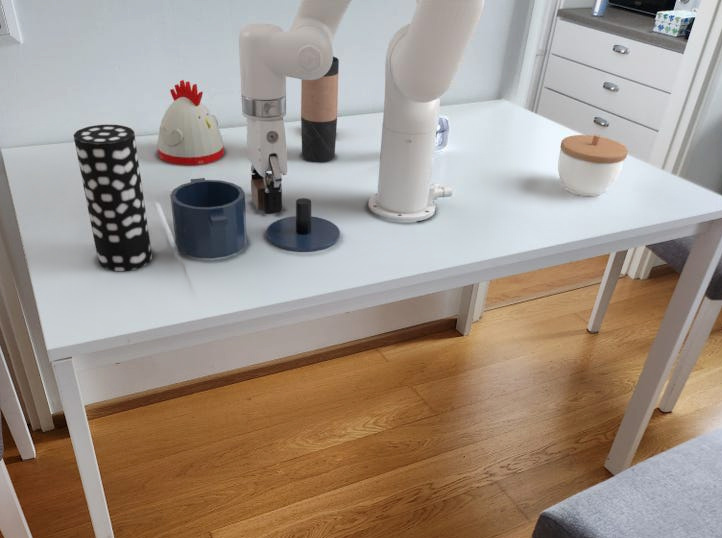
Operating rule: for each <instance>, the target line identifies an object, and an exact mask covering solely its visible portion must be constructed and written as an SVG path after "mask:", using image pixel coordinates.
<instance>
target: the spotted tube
mask: <svg viewBox="0 0 722 538" xmlns="http://www.w3.org/2000/svg"><path fill="white" fill-rule="evenodd" d="M73 140H74V145H75V150H76V156H77V161H78V166H79V171H80V175H81V180H82V185H83V190H84V196H85V200H86V201H85V202H86V205H87V211H88V216H89V221H90V226H91V231H92V236H93V241H94V247H95V252H96V256H97V261H98V264H99V265H100V267H102V268H103V269H106V270H109V271H113V272H115V271H116V272H127V271H134V270H138V269H140V268H142V267H144V266H146V265H148V264H149V263H150V262H151V261H152V258H153V253H152V252H153V251H152V246H151V238H150V232H149V231H150V230H149V225H148V219H147V212H146V205H145V198H144V196H145V195H144V189H143V183H142V176H141V170H140V162H139V156H138V149H137V141H136V134H135V131H134V129H133V128H132V127H129V126H126V125H122V124H120V125H119V124H96V125H90V126H87V127H82V128H80V129H79V130H77V131H75V132H74V133H73Z"/></svg>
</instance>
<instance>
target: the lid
mask: <svg viewBox="0 0 722 538" xmlns="http://www.w3.org/2000/svg"><path fill="white" fill-rule="evenodd" d="M266 237H267V239H268V241H269V242H270V243H271V244H273V245H274V246H276V247H278V248H280V249H284V250H288V251H293V252H303V253H304V252H305V253H306V252H316V251H317V252H318V251H322V250H325V249H328V248H330V247H332V246H334V245H335V244H337V242H338V241H339V240H340V237H341V231H340V229H339V227H338V226H337V225H336V224H335V223H334V222H332V221H330V220H328V219H325V218H322V217H317V216H312V200H311V199H309V198H307V197H302V198H298V199H296V201H295V215H293V216H286V217H283V218H279V219H277V220H275V221H273V222H271V224H270V225H268V227H267V229H266Z"/></svg>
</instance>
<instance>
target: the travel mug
mask: <svg viewBox="0 0 722 538" xmlns="http://www.w3.org/2000/svg"><path fill="white" fill-rule="evenodd" d="M339 64H340V60H339V58H338V57H336V56H333V61H332V65H331V67H330V69H329V71H328V72H327V73H326V74H325V75H324V76H323V77H321V78H319V79H315V80H302V79H301V83H300V84H301V90H300V92H301V94H300V97H301V98H300V130H301V133H300V134H301V156H302V159H303V160H306V161H308V162H313V163H327V162H331V161H333V160H334V159H335V155H336V142H337V141H336V140H337V125H338V103H339V101H338V100H339V71H340V70H339V69H340V67H339V66H340V65H339Z"/></svg>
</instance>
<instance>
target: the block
mask: <svg viewBox="0 0 722 538" xmlns="http://www.w3.org/2000/svg"><path fill="white" fill-rule="evenodd" d="M270 181H273V180H272V178H268V183H270ZM281 188H282V189H283V185H281ZM263 191H265V186H264V180H263V179H255V180H252V179H251V180H250V192H251V193H250V194H251V202H252V204H253V205H254V206H255V208H256V210H257V211H264V201H263ZM281 204H282V205H283V190H282V191H281Z"/></svg>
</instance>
